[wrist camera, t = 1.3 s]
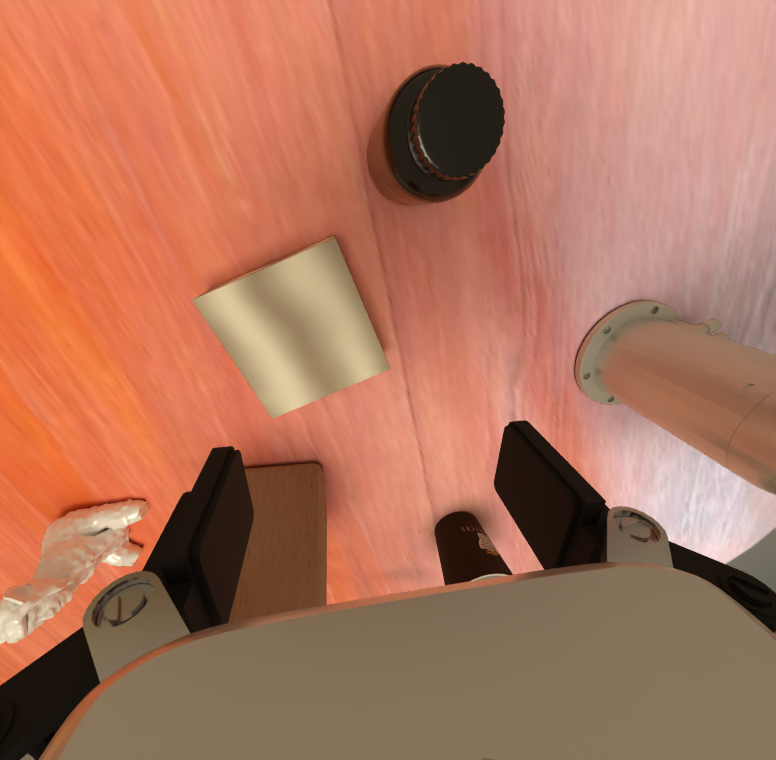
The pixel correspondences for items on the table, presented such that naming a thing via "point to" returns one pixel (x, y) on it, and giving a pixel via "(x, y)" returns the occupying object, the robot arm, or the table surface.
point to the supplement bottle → (436, 134)
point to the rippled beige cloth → (296, 327)
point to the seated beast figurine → (70, 563)
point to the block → (284, 542)
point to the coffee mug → (467, 550)
